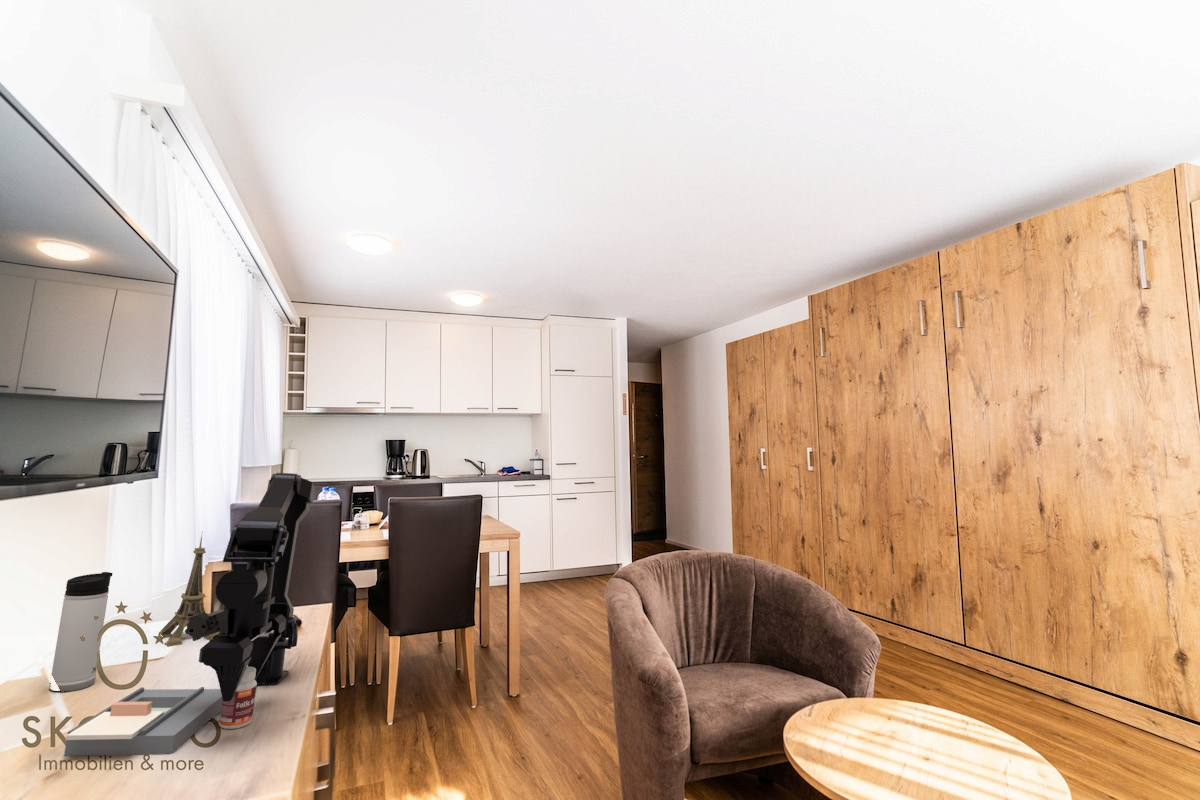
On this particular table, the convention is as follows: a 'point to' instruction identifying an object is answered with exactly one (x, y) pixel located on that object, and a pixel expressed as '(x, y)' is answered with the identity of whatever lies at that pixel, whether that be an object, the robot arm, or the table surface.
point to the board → (157, 723)
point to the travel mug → (80, 631)
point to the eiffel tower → (188, 603)
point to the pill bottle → (240, 703)
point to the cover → (118, 722)
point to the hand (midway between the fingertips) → (240, 689)
